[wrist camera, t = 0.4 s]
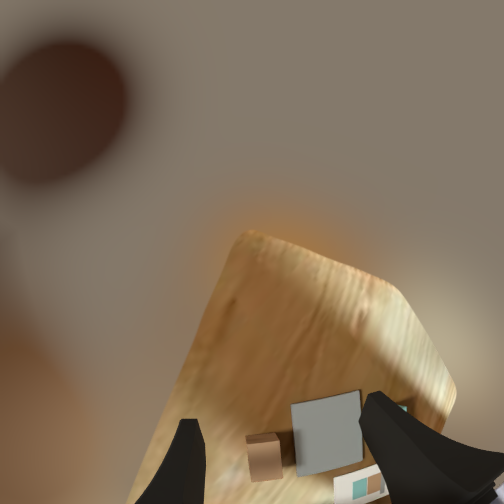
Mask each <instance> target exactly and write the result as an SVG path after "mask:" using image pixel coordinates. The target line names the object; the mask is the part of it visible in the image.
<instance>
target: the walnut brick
mask: <svg viewBox="0 0 504 504" xmlns="http://www.w3.org/2000/svg"><path fill="white" fill-rule="evenodd" d="M245 437H246V445H247V453H248V461H249V469H250V476H251V482H260V481H268V480H275V479H282V478H283V472H282V462H281V452H280V441H279V439H278V437H277V435H276V434H275V433H268V434H259V435H250V436H245Z"/></svg>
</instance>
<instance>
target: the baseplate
mask: <svg viewBox="0 0 504 504" xmlns="http://www.w3.org/2000/svg"><path fill="white" fill-rule="evenodd" d="M291 414H292V425H293V436H294V447H295V459H296V471H297V477H302V476H307V475H311V474H316V473H320V472H324V471H328V470H332V469H336V468H339V467H343V466H346V465H350V464H353V463H356V462H359V461H362V460H363V459H362V431H361V428H360V425H359V422H358V420H359V418H360V415H361V408H360V395H359V390H356V391H352V392H348V393H344V394H339V395H335V396H330V397H326V398H321V399H316V400H311V401H305V402H300V403H293V404H291Z"/></svg>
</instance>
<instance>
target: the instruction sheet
mask: <svg viewBox="0 0 504 504" xmlns="http://www.w3.org/2000/svg"><path fill="white" fill-rule="evenodd" d="M388 494H389V492H388V489H387V486H386V483H385V480H384V478H383V476H382V473H381V471H380V469H379V467H378V465H377V464H375V465H372V466H369V467H366V468H363V469H360V470H357V471H354V472H351V473H348V474H344V475H341V476H337V477H334V504H365V503H368V502H371V501H373V500H376V499H379V498H381V497H383V496H386V495H388Z"/></svg>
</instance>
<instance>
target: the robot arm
mask: <svg viewBox="0 0 504 504" xmlns="http://www.w3.org/2000/svg"><path fill="white" fill-rule="evenodd" d="M358 422H359V425H360V428H361V431H362V434H363V437H364V440H365V442H366V444H367V446H368V448H369V450H370V452H371V454H372V456H373V458H374V460H375V461H376V463H377V465H378V467H379V469H380V471H381V473H382V476H383V478H384V480H385V483H386V486H387V489H388V492H389V495H390V499H391V502H392V504H504V482H503V483H502V484H501V485H499V486H498V487H497V488H496V489H495V490H494V489H493V487H494V486H495V483H494V480H495V479H496V478H497V477H499V476H500V475H501V474H502V473H503V472H504V453H499V452H492V451H486V450H481V449H477V448H473V447H470V446H467V445H464V444H461V443H459V442H456V441H454V440H451V439H449V438H447V437H445V436H443V435H441V434H439V433H437V432H436V431H434V430H432V429H431V428H429V427H427V426H426V425H424V424H423V423H421V422H420V421H418V420H417V419H416V418H414V417H413V416H411V415H410V414H409V413H407V412H406V411H405V410H404V409H402V408H401V407H400V406H398V405H397V404H396V403H395V402H393V401H392V400H391V399H390V398H389V397H387V396H386V395H385V394H384V393H382V392H381V391H377V392H373V393H370V394H368V396H367V399H366V401H365V404H364V407H363V410H362V412H361V415H360V418H359V420H358ZM205 472H206V454H205V442H204V439H203V436H202V433H201V430H200V427H199V423H198V420H197V419H181V420H180V422H179V425H178V428H177V431H176V434H175V436H174V438H173V441H172V443H171V445H170V448H169V450H168V452H167V454H166V456H165V458H164V460H163V462H162V464H161V465H160V467H159V469H158V471H157V472H156V474H155V476H154V478H153V479H152V481H151V482H150V484H149V485H148V487H147V488H146V490H145V491H144V492H143V494H142V495H141V496H140V498H139V499H138V500H137V501H136V502H135V504H204V488H205Z"/></svg>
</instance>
